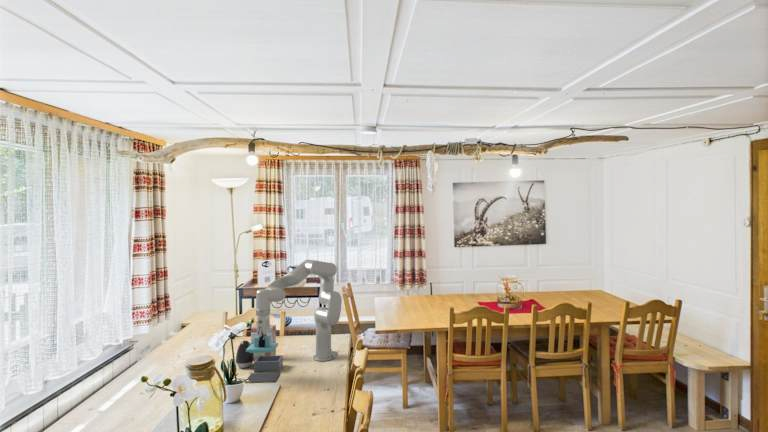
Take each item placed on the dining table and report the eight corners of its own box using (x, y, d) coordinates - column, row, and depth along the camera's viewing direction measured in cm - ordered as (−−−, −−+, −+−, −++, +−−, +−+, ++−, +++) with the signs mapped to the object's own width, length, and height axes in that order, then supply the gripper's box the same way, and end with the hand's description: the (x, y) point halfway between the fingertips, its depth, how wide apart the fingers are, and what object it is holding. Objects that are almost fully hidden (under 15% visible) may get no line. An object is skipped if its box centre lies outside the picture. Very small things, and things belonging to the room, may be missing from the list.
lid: (251, 347, 212) (251, 334, 212) (278, 347, 212) (278, 334, 213) (245, 353, 201) (245, 340, 201) (273, 353, 202) (273, 339, 202)
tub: (258, 366, 224) (258, 355, 224) (282, 365, 225) (282, 355, 225) (254, 372, 214) (254, 362, 214) (279, 372, 215) (279, 361, 215)
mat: (251, 374, 212) (251, 373, 212) (280, 373, 213) (280, 372, 213) (244, 383, 200) (244, 382, 200) (275, 382, 201) (275, 381, 201)
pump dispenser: (248, 370, 218) (248, 343, 218) (231, 369, 220) (232, 342, 220) (257, 364, 228) (257, 338, 228) (241, 362, 230) (242, 337, 230)
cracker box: (276, 358, 237) (276, 324, 238) (272, 361, 231) (272, 327, 232) (254, 357, 239) (254, 324, 239) (250, 360, 233) (250, 326, 233)
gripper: (266, 315, 200) (265, 350, 199) (273, 308, 216) (273, 341, 215) (251, 315, 199) (251, 350, 198) (260, 309, 215) (259, 341, 215)
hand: (262, 345), depth 207 cm, fingers closed on lid, 3 cm apart
